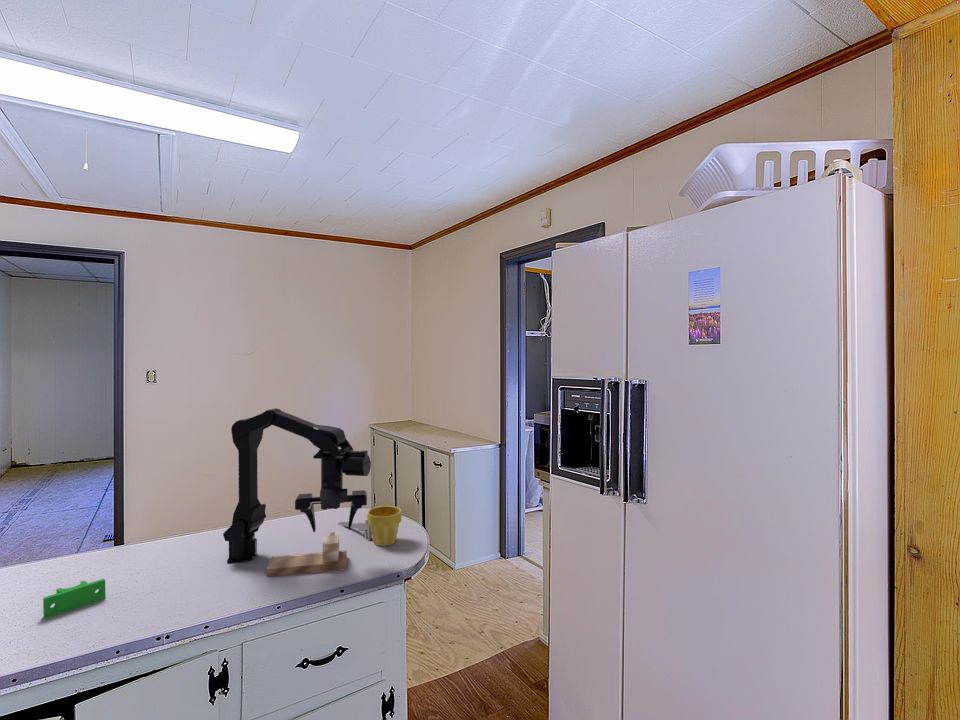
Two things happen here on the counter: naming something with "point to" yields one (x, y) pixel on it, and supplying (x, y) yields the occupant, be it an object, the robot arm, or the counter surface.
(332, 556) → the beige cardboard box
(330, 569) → the walnut board
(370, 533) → the caliper
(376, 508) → the plant pot
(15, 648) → the counter surface
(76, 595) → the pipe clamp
